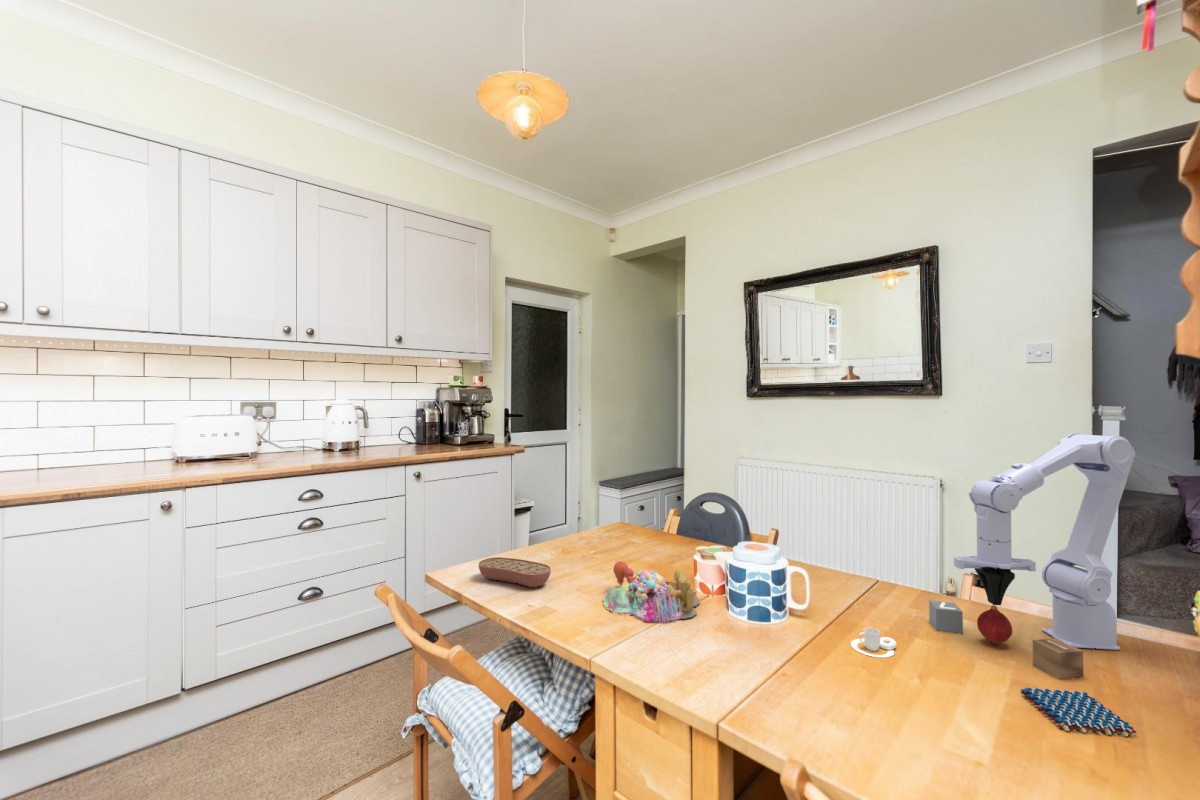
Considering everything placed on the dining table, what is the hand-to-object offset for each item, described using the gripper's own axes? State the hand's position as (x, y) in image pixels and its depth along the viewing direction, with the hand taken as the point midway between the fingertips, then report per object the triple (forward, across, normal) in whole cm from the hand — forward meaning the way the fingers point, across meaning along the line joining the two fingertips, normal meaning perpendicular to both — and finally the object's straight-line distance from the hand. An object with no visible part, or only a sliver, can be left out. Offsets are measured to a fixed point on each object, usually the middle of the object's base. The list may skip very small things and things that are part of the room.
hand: (994, 603), depth 105 cm
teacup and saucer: (+9, -24, -7) cm, 27 cm away
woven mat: (+9, -2, -24) cm, 26 cm away
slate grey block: (+9, -6, +7) cm, 13 cm away
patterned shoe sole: (+9, -112, +23) cm, 114 cm away
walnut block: (+9, +5, -10) cm, 14 cm away
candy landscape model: (+9, -72, +12) cm, 74 cm away
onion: (+9, 0, 0) cm, 9 cm away
